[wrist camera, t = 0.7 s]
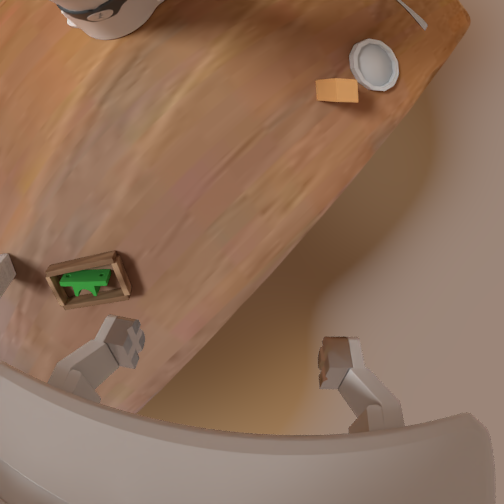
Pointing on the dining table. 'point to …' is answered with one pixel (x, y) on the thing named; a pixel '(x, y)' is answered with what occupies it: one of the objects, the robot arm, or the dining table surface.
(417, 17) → the fork
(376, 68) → the ring dish
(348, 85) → the wooden toy brick
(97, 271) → the pipe clamp
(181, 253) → the dining table surface
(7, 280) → the skincare box
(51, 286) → the frame
